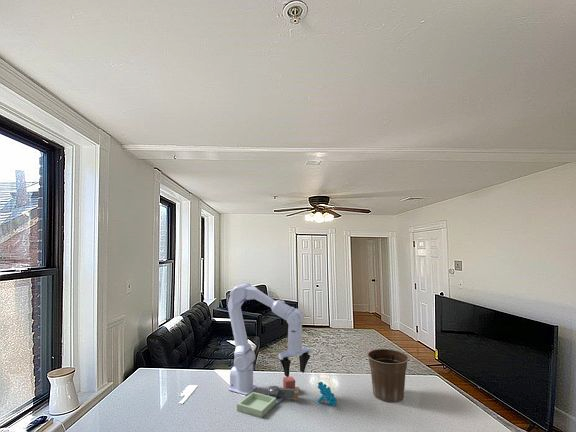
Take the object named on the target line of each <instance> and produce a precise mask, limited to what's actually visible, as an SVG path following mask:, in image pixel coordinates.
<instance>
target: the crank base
mask: <svg viewBox="0 0 576 432" xmlns="http://www.w3.org/2000/svg"><path fill="white" fill-rule="evenodd" d="M267 396H269V393H268V394H267ZM282 400H284V398H279V399H276V405H278V404H279V403H280V402H281V401H282Z"/></svg>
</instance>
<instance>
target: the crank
mask: <svg viewBox="0 0 576 432" xmlns="http://www.w3.org/2000/svg"><path fill="white" fill-rule="evenodd" d="M268 394H269V396H271V397H275V398H276V399H279V398H283V399H293V401H295V402H298V401H299V398H300V387H299V386H295V389H289V388H283V387H279V386H277V385H273V386H272V385H271V386H269V387H268Z"/></svg>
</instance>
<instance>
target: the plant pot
mask: <svg viewBox="0 0 576 432" xmlns="http://www.w3.org/2000/svg"><path fill="white" fill-rule="evenodd" d="M366 354H367V358H368V362H369V366H370V372H371V384H372V385H371V386H372V393H373V396H374V398H377V399H378V400H380V401H382V402H383V401H386V402H387V403H398V402H401V401H403V399H404V397H405V383H406V370H407V369H408V361H409V360H410V359H409V356H408V355H407V354H406V353H405V352H404V353H403V352H401V351H398V350H395V349H390V348H377V349H371V350H370V351H368V352H367V353H366Z"/></svg>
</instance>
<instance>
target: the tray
mask: <svg viewBox="0 0 576 432" xmlns="http://www.w3.org/2000/svg"><path fill="white" fill-rule="evenodd" d="M267 395H268V394H267ZM267 395H266V394H263V393H261V392H260V393H259V392H255V391H252V392H250V393H249V394H248V395H246V396H245V397H244V398H242V400H240V401H239V402H238V403H236V411H237V412H240V413H243V414H246V415H250V416H253V417H256V418H260V419H262V418H264V417H265V416H266V415H267V414H268V413H269V412H270V411H271V410H272V409H273V408H275V406H277V404H276V398H275V397H271V396H267Z"/></svg>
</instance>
